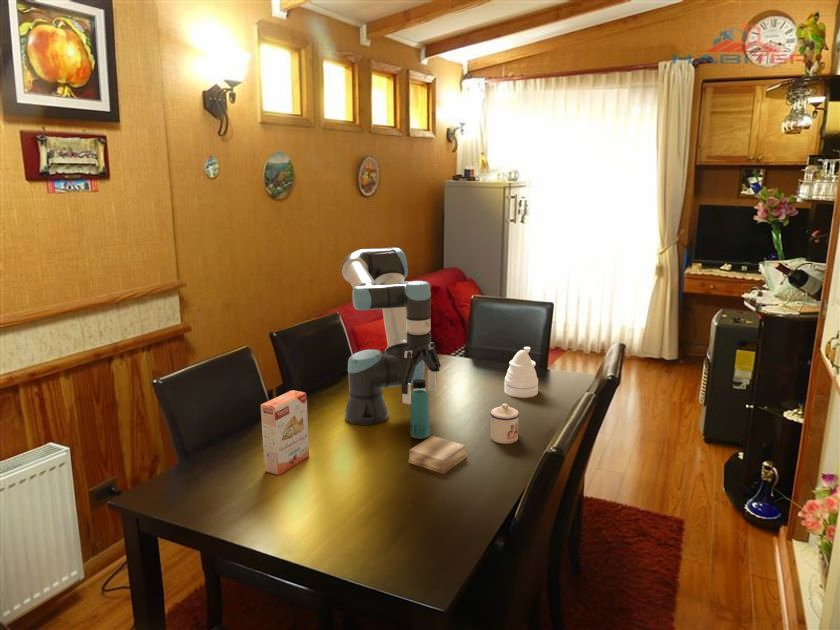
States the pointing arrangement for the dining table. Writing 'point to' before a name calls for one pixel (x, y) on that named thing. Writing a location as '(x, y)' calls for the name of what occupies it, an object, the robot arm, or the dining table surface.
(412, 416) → the beverage bottle
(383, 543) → the dining table surface
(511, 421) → the teacup with lid
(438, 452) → the tan flat square block
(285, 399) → the cracker box
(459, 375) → the dining table surface
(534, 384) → the honey pot
